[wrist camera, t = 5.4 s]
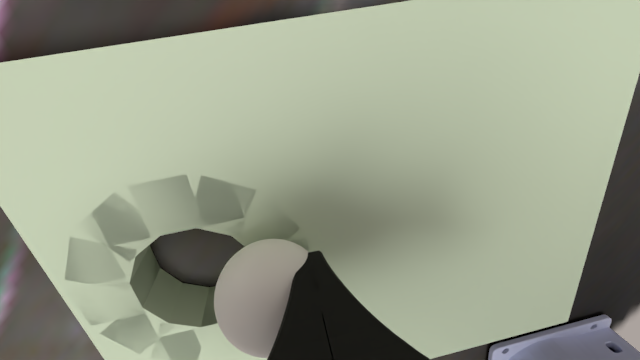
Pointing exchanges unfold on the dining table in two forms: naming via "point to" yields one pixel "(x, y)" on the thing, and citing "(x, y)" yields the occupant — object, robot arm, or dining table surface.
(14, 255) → the dining table surface
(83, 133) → the putting deck
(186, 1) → the dining table surface
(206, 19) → the dining table surface
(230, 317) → the ball
